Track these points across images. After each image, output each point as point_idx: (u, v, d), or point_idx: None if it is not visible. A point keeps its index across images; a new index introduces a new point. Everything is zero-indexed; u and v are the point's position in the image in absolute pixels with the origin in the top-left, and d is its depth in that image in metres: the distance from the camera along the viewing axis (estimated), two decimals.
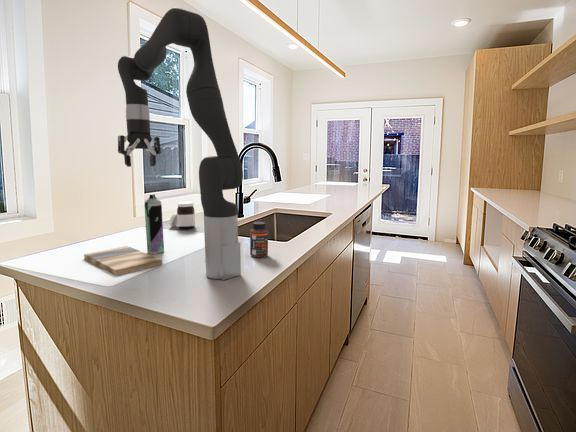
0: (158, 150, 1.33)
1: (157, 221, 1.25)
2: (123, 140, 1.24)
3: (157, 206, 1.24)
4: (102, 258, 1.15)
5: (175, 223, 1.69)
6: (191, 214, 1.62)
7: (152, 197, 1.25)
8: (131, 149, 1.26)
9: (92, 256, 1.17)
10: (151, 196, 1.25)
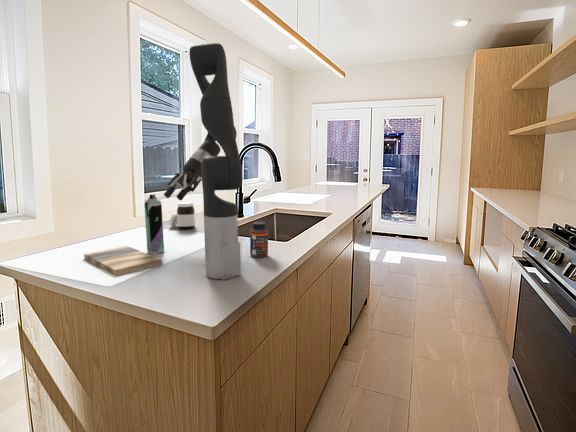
0: (189, 184, 1.28)
1: (157, 221, 1.25)
2: (175, 176, 1.37)
3: (157, 206, 1.24)
4: (102, 258, 1.15)
5: (175, 223, 1.69)
6: (191, 214, 1.62)
7: (152, 197, 1.25)
8: (173, 182, 1.35)
9: (92, 256, 1.17)
10: (151, 196, 1.25)
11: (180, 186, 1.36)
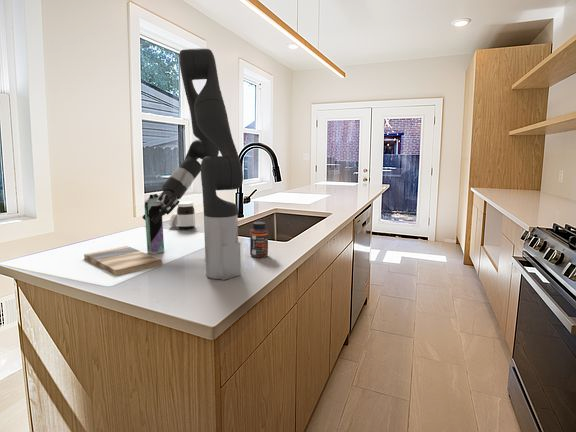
0: (164, 207, 1.23)
1: None
2: None
3: (157, 206, 1.24)
4: (102, 258, 1.15)
5: (175, 223, 1.69)
6: (191, 214, 1.62)
7: (152, 197, 1.25)
8: None
9: (92, 256, 1.17)
10: (151, 196, 1.25)
11: None
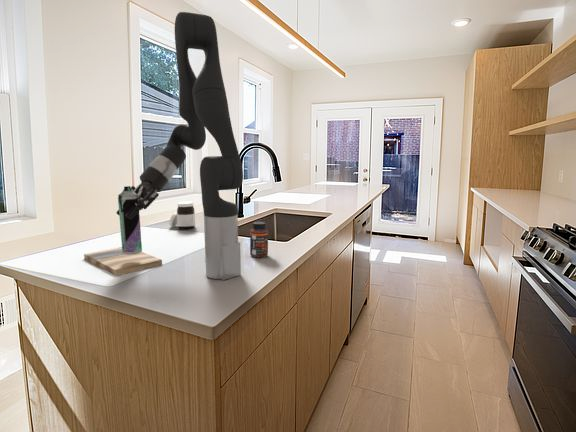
0: (141, 201, 1.07)
1: None
2: None
3: (133, 199, 1.07)
4: (102, 258, 1.15)
5: (175, 223, 1.69)
6: (191, 214, 1.62)
7: (127, 189, 1.08)
8: None
9: (92, 256, 1.17)
10: (126, 188, 1.08)
11: None
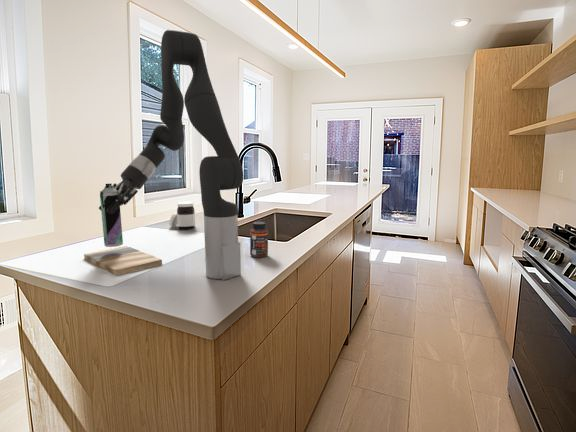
0: (120, 197, 1.15)
1: (114, 212, 1.17)
2: None
3: (113, 196, 1.16)
4: (102, 258, 1.15)
5: (175, 223, 1.69)
6: (191, 214, 1.62)
7: (108, 186, 1.16)
8: None
9: (92, 256, 1.17)
10: (107, 185, 1.16)
11: None
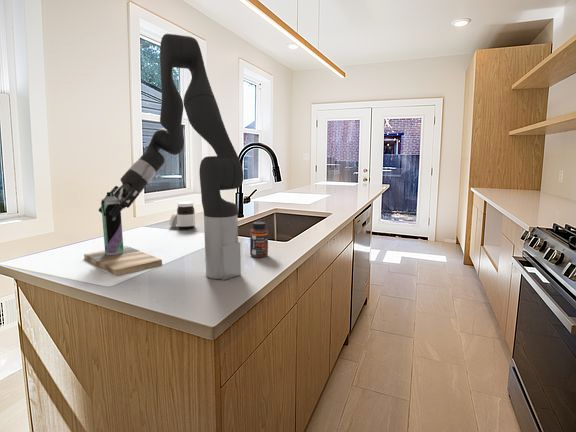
0: (123, 200, 1.15)
1: (115, 220, 1.17)
2: (113, 189, 1.24)
3: (115, 204, 1.17)
4: (102, 258, 1.15)
5: (175, 223, 1.69)
6: (191, 214, 1.62)
7: (109, 195, 1.17)
8: None
9: (92, 256, 1.17)
10: (108, 194, 1.17)
11: None
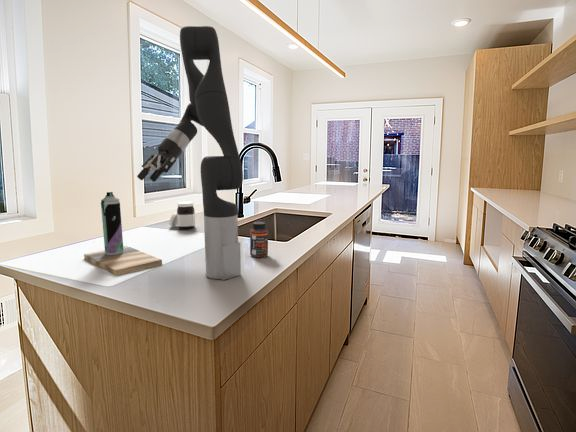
0: (162, 165, 1.23)
1: (114, 220, 1.17)
2: (150, 157, 1.32)
3: (114, 204, 1.17)
4: (102, 258, 1.15)
5: (175, 223, 1.69)
6: (191, 214, 1.62)
7: (109, 195, 1.17)
8: None
9: (92, 256, 1.17)
10: (108, 194, 1.17)
11: (154, 168, 1.30)
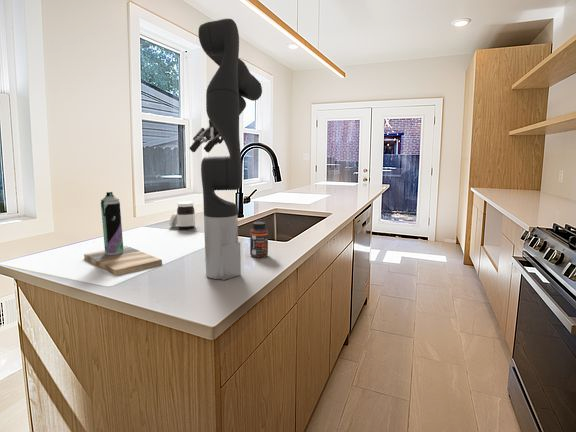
0: (216, 136, 1.25)
1: (114, 220, 1.17)
2: (200, 130, 1.34)
3: (114, 204, 1.17)
4: (102, 258, 1.15)
5: (175, 223, 1.69)
6: (191, 214, 1.62)
7: (109, 195, 1.17)
8: (199, 135, 1.31)
9: (92, 256, 1.17)
10: (108, 194, 1.17)
11: (206, 140, 1.32)
